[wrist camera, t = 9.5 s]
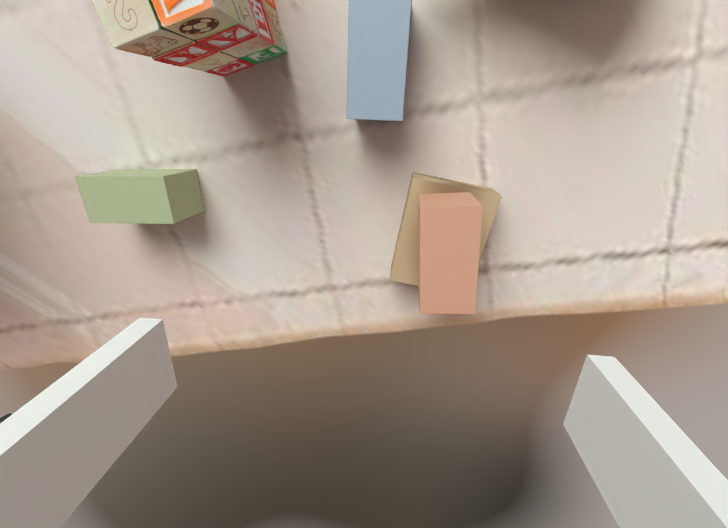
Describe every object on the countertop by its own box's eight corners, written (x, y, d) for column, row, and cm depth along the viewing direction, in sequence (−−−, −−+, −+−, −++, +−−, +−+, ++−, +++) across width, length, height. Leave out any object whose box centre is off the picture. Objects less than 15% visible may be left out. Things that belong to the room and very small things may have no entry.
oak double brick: (391, 263, 34) (389, 280, 31) (412, 171, 31) (413, 178, 27) (461, 278, 34) (467, 296, 30) (490, 187, 31) (501, 195, 27)
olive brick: (131, 210, 35) (89, 222, 31) (120, 169, 34) (75, 176, 29) (205, 210, 34) (173, 223, 30) (197, 169, 33) (163, 176, 28)
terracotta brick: (464, 284, 30) (475, 313, 25) (418, 284, 30) (420, 313, 26) (469, 192, 27) (482, 205, 22) (418, 193, 28) (420, 207, 23)
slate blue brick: (403, 121, 29) (402, 120, 25) (356, 119, 30) (346, 118, 25) (411, 7, 26) (412, -19, 22) (359, 6, 27) (349, -19, 22)
